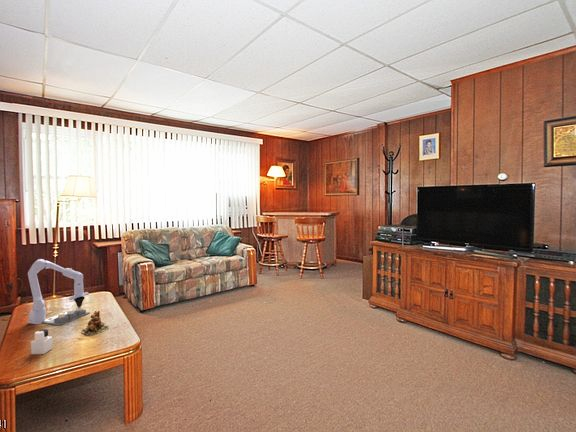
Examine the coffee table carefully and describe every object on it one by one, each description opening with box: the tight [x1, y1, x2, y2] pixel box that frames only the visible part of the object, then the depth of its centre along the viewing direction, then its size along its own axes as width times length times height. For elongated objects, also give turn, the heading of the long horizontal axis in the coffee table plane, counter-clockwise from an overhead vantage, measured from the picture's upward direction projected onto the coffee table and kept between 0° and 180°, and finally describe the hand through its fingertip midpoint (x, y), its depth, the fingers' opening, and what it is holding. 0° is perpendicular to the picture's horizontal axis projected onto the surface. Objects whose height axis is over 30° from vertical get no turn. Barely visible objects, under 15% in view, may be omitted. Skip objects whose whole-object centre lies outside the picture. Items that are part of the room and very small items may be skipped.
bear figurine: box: [80, 310, 110, 337], centre depth 205 cm, size 14×15×12 cm
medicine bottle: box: [30, 328, 53, 355], centre depth 176 cm, size 7×7×12 cm
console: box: [41, 309, 90, 326], centre depth 227 cm, size 18×24×3 cm
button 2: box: [75, 306, 84, 312], centre depth 232 cm, size 4×4×3 cm
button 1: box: [57, 312, 65, 319], centre depth 218 cm, size 4×4×3 cm
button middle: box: [66, 309, 74, 315], centre depth 225 cm, size 4×4×3 cm
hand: (79, 306), depth 232 cm, fingers closed
